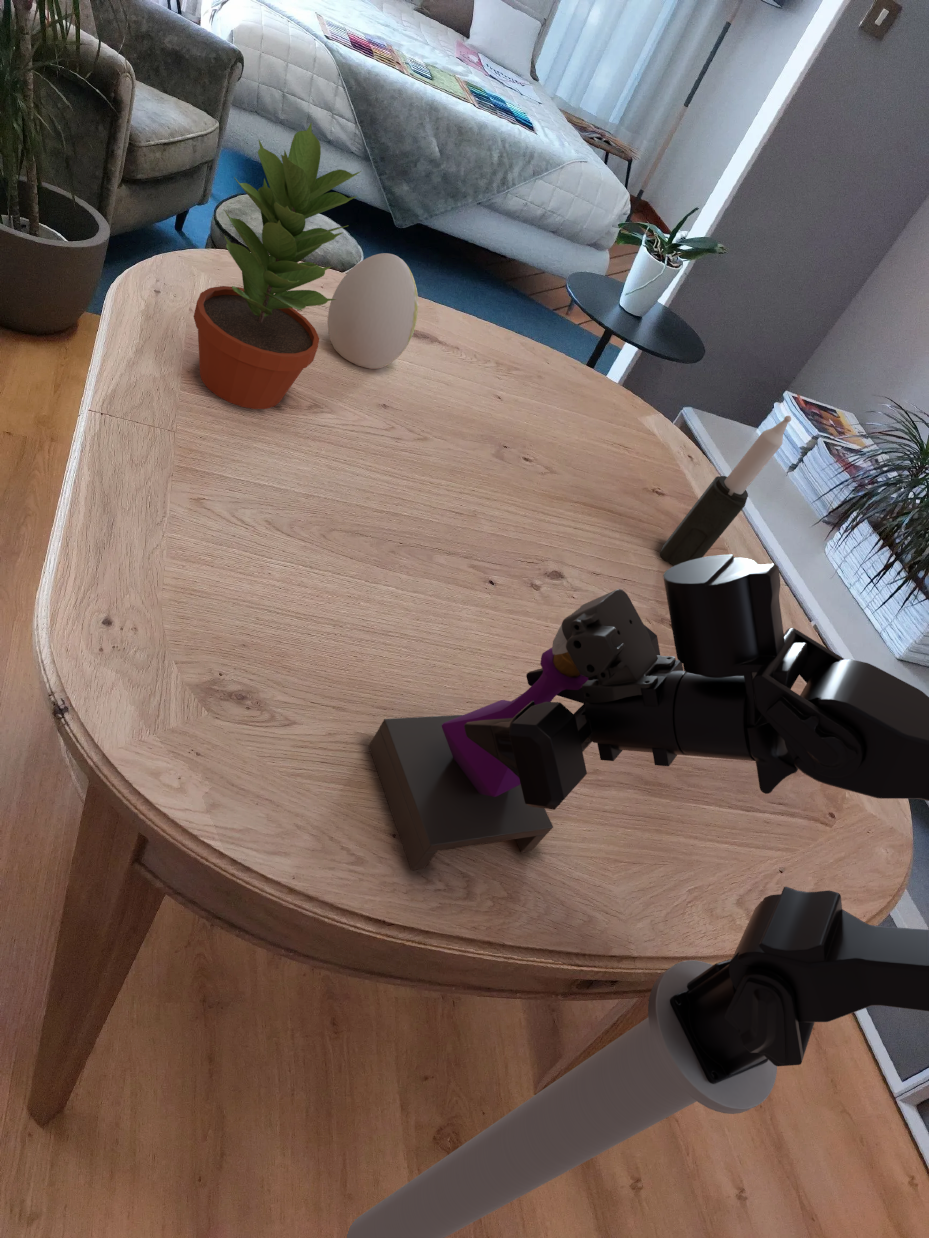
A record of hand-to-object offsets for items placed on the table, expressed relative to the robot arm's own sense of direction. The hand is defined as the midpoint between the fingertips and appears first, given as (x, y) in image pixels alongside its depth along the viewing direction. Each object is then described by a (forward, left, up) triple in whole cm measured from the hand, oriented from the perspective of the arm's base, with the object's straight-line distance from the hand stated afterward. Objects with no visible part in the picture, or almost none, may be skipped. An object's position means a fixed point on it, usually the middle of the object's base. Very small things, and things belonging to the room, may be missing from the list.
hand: (498, 702), depth 66 cm
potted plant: (+59, +5, -12) cm, 60 cm away
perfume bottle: (-1, -2, -8) cm, 9 cm away
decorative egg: (+73, -15, -12) cm, 75 cm away
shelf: (-1, -1, -12) cm, 12 cm away
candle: (+33, -53, -12) cm, 63 cm away
